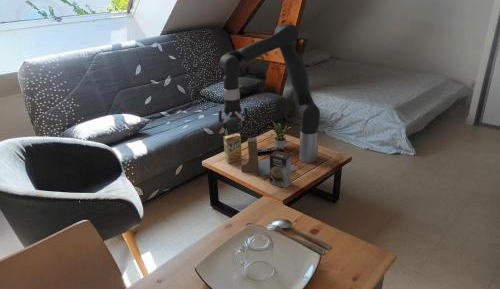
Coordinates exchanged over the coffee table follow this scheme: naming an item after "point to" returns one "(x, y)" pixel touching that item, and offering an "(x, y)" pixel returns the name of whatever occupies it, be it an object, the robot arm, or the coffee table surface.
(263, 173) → the slate rubber mat
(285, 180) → the coffee box
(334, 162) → the coffee table surface
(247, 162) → the wooden block
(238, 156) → the candy box
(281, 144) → the house plant
